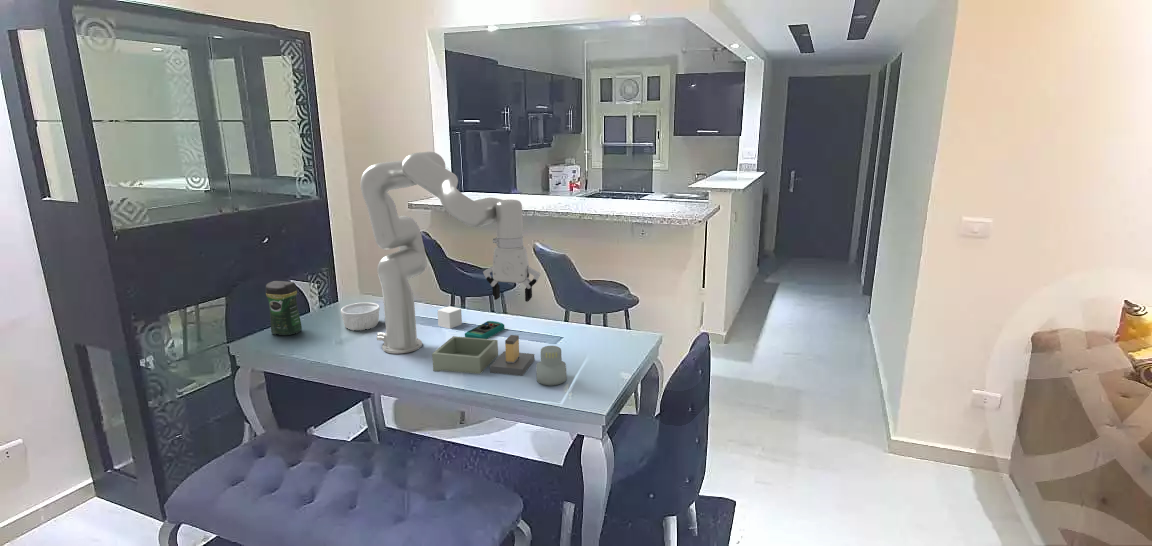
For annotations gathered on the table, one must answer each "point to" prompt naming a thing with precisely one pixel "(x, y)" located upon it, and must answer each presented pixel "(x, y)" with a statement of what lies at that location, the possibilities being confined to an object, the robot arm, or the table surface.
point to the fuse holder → (512, 364)
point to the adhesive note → (449, 317)
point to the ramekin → (360, 316)
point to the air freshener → (551, 367)
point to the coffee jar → (283, 307)
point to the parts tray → (465, 355)
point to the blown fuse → (512, 348)
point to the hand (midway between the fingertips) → (512, 299)
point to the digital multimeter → (485, 330)
